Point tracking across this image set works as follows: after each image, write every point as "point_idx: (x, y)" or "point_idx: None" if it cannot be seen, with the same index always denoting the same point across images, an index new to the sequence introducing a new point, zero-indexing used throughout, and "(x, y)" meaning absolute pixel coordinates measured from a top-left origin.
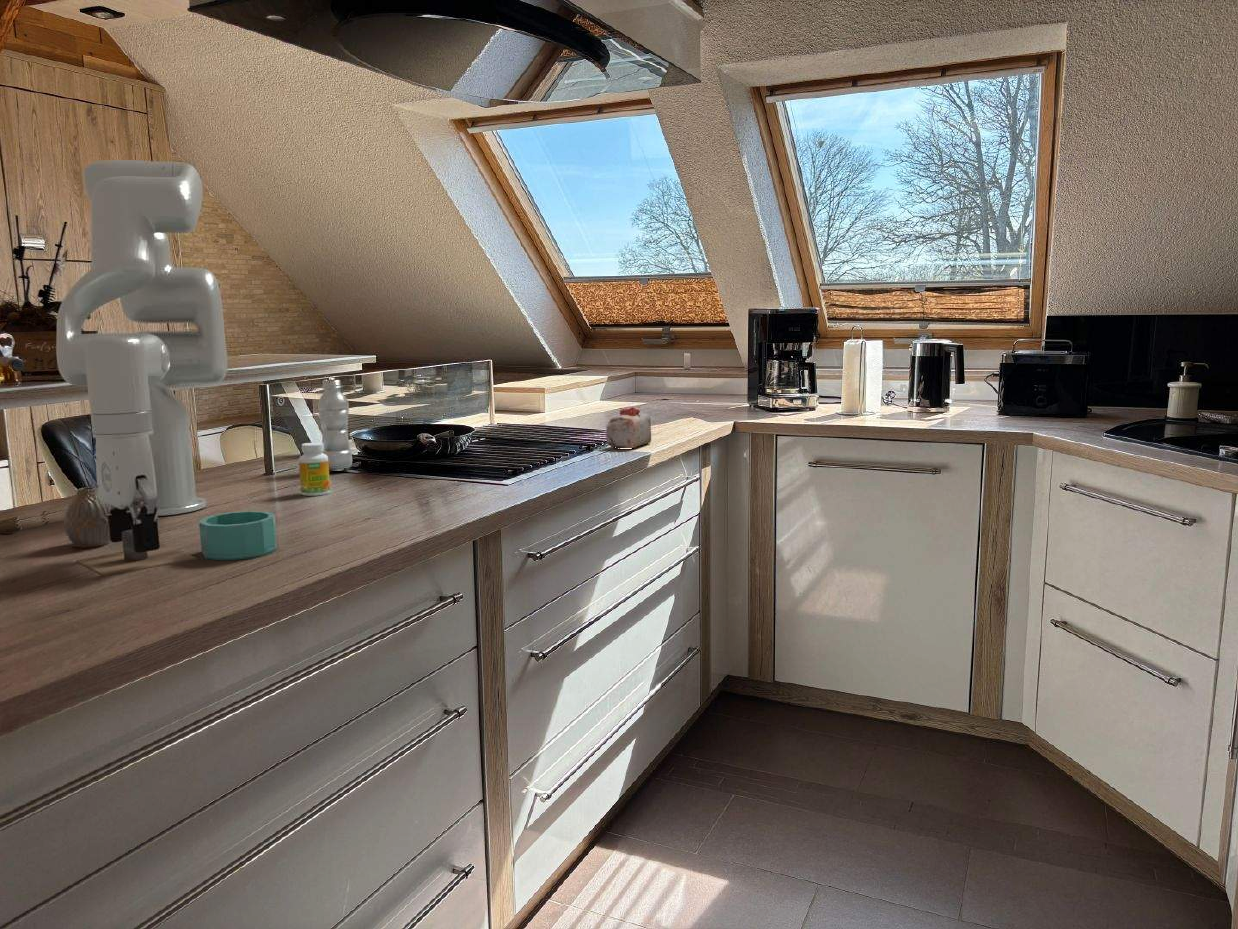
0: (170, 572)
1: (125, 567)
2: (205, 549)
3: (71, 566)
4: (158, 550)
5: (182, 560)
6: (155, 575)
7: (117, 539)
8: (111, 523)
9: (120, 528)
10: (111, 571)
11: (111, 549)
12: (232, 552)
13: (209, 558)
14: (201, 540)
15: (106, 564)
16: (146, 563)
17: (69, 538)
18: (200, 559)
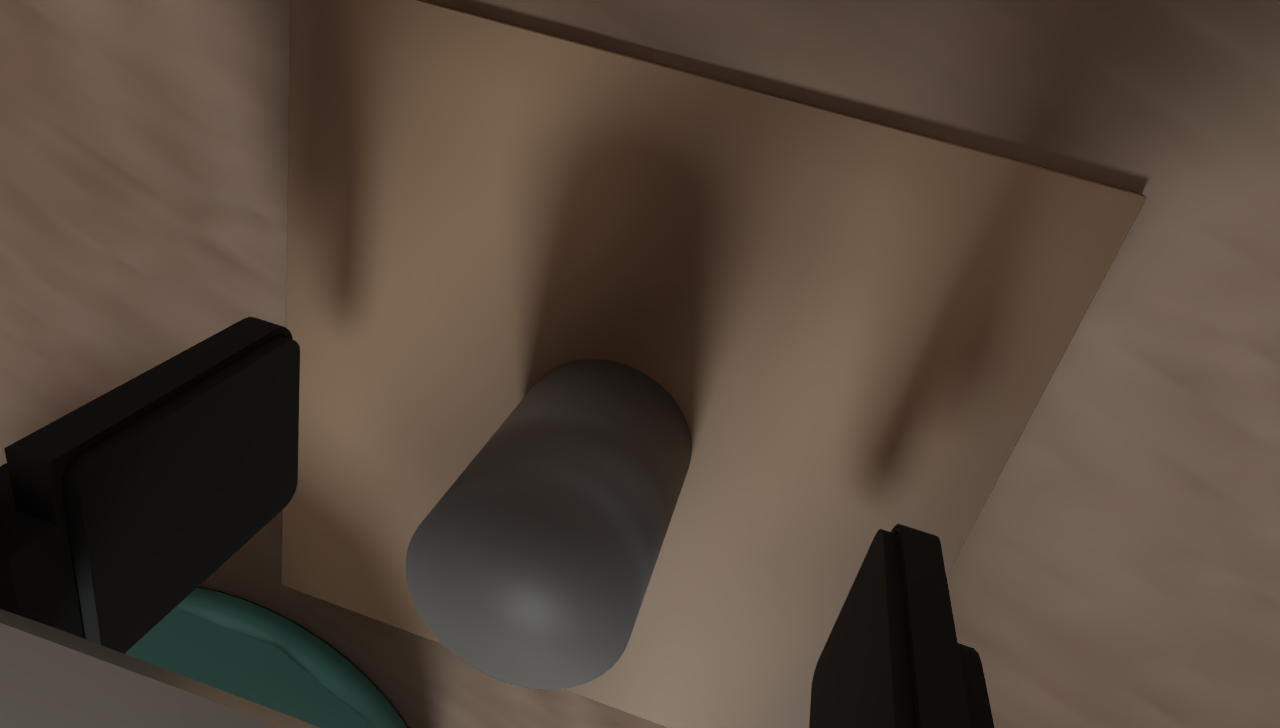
0: (72, 292)
1: (415, 226)
2: (199, 641)
3: (989, 28)
4: (686, 654)
5: (285, 515)
6: (61, 194)
7: (863, 567)
8: (886, 680)
9: (853, 687)
10: (384, 85)
11: (1190, 613)
12: None
13: (205, 593)
14: None
15: (655, 218)
16: (398, 374)
17: None
18: (254, 576)
